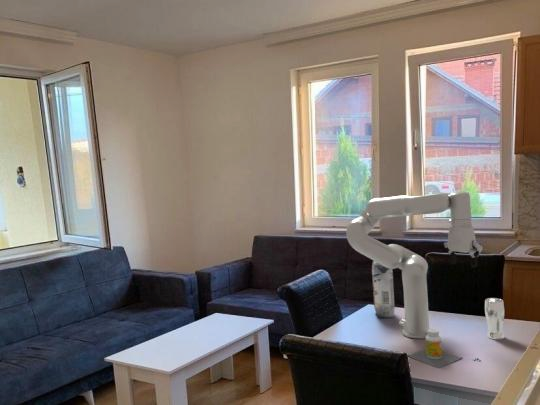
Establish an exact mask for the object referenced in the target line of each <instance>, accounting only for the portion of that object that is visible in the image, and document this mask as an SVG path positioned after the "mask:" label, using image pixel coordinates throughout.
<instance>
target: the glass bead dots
mask: <svg viewBox="0 0 540 405" xmlns="http://www.w3.org/2000/svg"><path fill="white" fill-rule="evenodd" d="M472 361H474V362H476V361H477V362H481V361H482V360H481V359H479V358H478V357H475V358H473V359H472Z"/></svg>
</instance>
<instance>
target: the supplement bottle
mask: <svg viewBox="0 0 540 405" xmlns="http://www.w3.org/2000/svg"><path fill="white" fill-rule="evenodd" d="M427 334H428V335H427V336H426V338H425V349H426V355H427V357H428V358H431V359H440V358H441V357H442V351H443V350H442V349H443V347H442V337H441V336H440V331H439V330H438V329H436V328H430V329H428V330H427Z"/></svg>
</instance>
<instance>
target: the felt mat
mask: <svg viewBox="0 0 540 405" xmlns="http://www.w3.org/2000/svg"><path fill="white" fill-rule="evenodd" d="M408 355H409V357H408V358H410V359H413V360H416V361H419V362H421V363H424V364H427V365H429V366H432V367H434V368H436V369H442V368H443V367H446V366H449V365H450V364H453V363H455V362H457V361H459V360H462V359H463V357H461V356H459V355H455V354H453V353H450V352H447V351H444V350H442V357H441V358H440V359H431V358H428V357H427V355H426V348H423V349H420V350H418V351H416V352H413V353H411V354H408Z"/></svg>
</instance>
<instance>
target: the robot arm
mask: <svg viewBox="0 0 540 405" xmlns="http://www.w3.org/2000/svg"><path fill="white" fill-rule="evenodd" d="M471 206H472V205H471V194H470V193H469V192H467V191H457V192H455V191H454V192H436V193H434V194H427V195H416V196H410V195H397V196H396V195H395V196H388V197H374V198H372V199H370V200H369V201H367V203H366V205H365V209H363V211H362V212H361V213H360V214H359V216H357V218H354V219H352V220H350V222H349V223H348V224H347V227H346V233H345V234H346V239H347V242H348V244H349V246H351V248H352V249H354V250H355V251H356V252H358V253H359V254H361V255H363V256H365V257H367V258H368V259H370V260H372V261H375V262H377V263H379V264H381V265H383V266H384V267H386V268H388V269H392V270H394V269H399V270H401V281H402V287H403V288H402V289H403V304H404V307H403V308H404V318H402V319H401V320H400V321H399V323H398V324H399V325H400V326H403V328H402V329H401V334H402V335H403V336H404V337H407V338H410V339H411V338H412V339H426V336H427V335H428V334H427V330H428V329H431V328H430V321H429V319H430V318H429V301H428V300H429V298H428V285H427V273H428V269H429V264H428V262H427V260H426V259H425V258H424V257H422V256H421V255H419V254H417V253H415V252H413V251H411V250H410V249H408V248H405V247H404V246H402V245H399V244H395V243H390V244H385V243H383V242H381V241H379V240H378V239H375V238H373V237H371V236H370V235H369V233H371V231H373V229H374V228H375V227H376V226H377V225H378V224H379V222H380V221H381V220H382V219H385V218H386V219H387V218H394V217H408V216H409V217H410V216H417V215H418V216H420V215H422V216H423V215H431V214H440V213H443V212H445V211H447V210H450V219H449V220H448V222H449V223H450V226H449V228H448V234H447V241H446V242H443V245H444V248H445V250H446V252H447V254H448V255H449V264H450V265H456V264H457V263H458V262H457V254H456V252H457V253H466V254H467V253H469V255H470V259H469V260H470V268H477V267H478V264H479V263H478V262H479V261H478V257H479V256H480V255H481V254H482V250H483V248H484V247H483V246H482V245H481V244H479V243H478V242H476V241H477V240H476V239H477V238H476V234H475V230H474V226H472V208H471Z"/></svg>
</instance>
